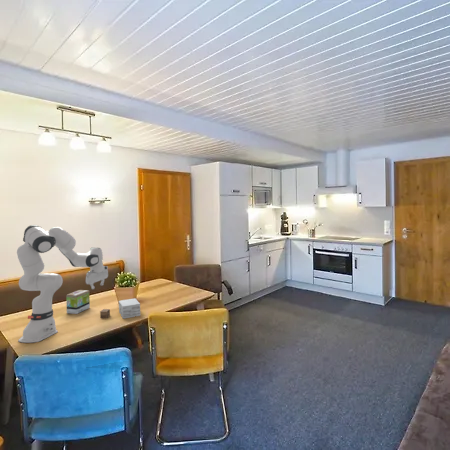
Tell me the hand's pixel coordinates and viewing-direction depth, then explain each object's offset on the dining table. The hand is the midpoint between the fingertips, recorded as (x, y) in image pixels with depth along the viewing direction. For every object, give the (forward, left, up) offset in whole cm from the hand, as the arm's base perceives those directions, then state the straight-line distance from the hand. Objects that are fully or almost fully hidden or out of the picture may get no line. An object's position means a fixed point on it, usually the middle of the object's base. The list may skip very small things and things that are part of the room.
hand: (97, 287), depth 222 cm
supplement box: (+6, -21, -23) cm, 32 cm away
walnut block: (-1, -5, -23) cm, 23 cm away
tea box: (+12, +23, -23) cm, 34 cm away
